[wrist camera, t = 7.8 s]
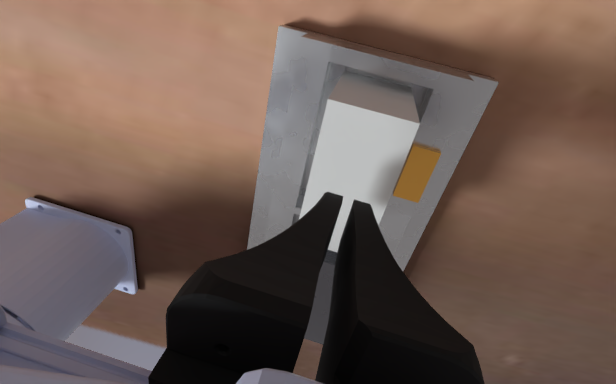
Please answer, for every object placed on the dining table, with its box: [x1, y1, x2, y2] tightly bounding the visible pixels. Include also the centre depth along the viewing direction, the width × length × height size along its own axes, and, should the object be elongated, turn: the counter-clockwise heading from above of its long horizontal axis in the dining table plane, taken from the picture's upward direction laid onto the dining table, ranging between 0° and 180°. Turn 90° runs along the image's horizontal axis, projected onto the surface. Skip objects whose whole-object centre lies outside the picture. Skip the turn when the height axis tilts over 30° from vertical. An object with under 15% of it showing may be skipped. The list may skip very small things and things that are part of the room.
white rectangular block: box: [299, 71, 420, 252], centre depth 17 cm, size 4×7×6 cm, turn 168°
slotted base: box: [247, 25, 499, 344], centre depth 20 cm, size 11×19×5 cm, turn 168°
